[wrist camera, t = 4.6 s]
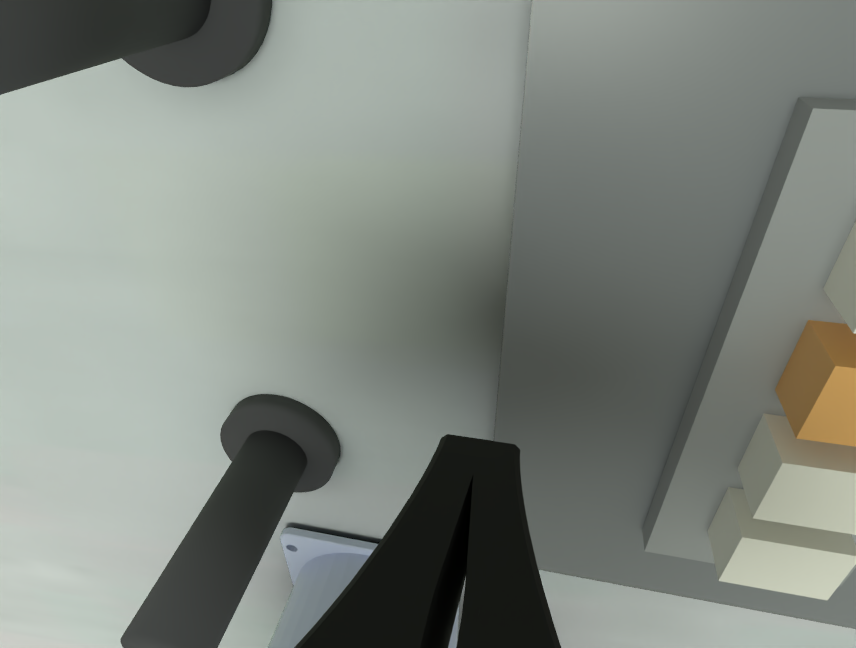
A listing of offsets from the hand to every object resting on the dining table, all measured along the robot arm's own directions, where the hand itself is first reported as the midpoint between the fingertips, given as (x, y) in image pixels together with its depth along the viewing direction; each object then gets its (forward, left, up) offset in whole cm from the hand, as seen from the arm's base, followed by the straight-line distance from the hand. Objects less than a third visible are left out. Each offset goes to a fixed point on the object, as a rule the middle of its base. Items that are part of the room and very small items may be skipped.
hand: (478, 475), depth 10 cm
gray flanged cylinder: (-8, +8, -6) cm, 13 cm away
